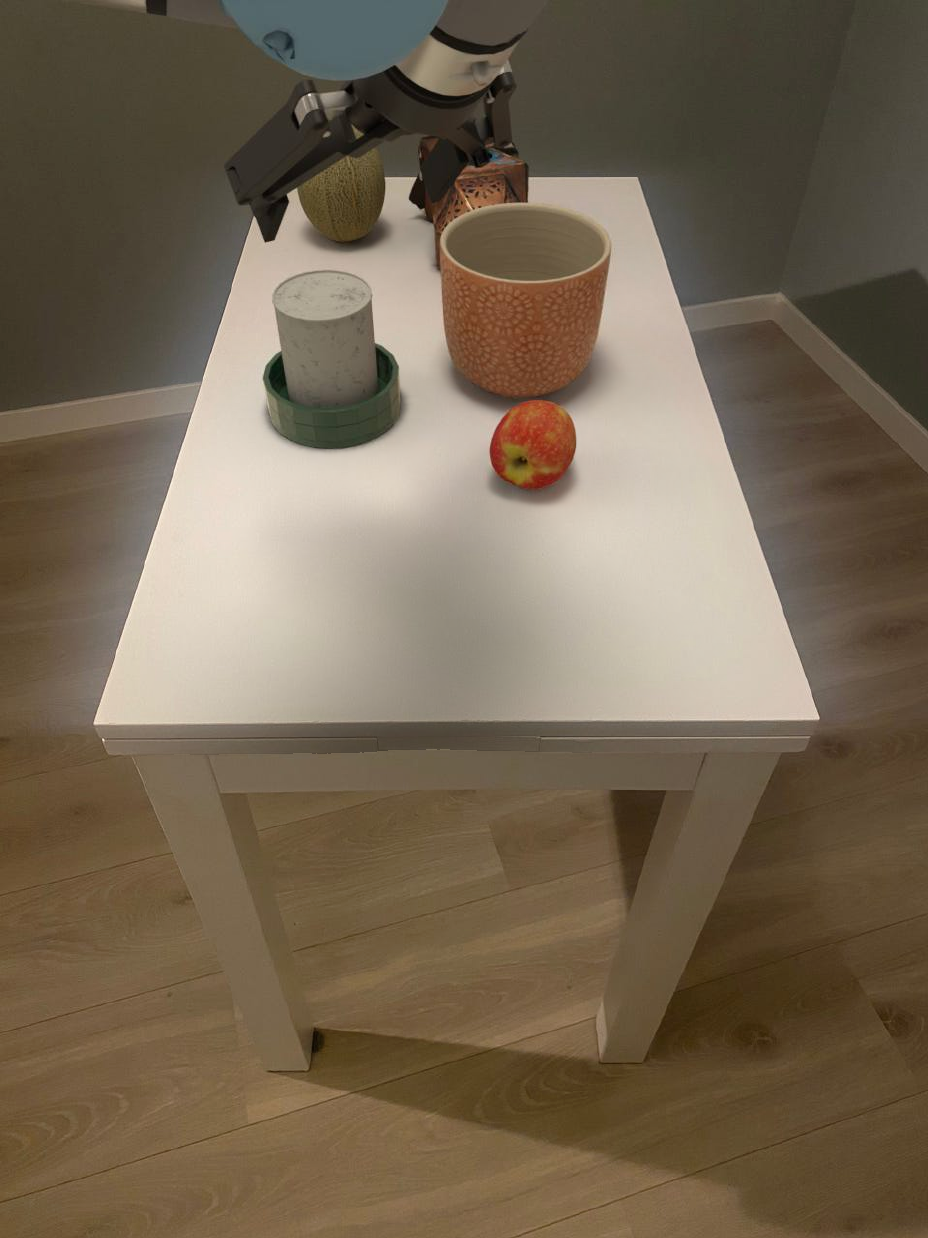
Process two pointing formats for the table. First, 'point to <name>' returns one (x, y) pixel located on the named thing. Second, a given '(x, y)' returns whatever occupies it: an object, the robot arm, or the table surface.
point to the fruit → (346, 196)
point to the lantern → (472, 186)
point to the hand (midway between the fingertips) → (348, 203)
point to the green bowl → (334, 409)
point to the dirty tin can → (327, 338)
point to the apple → (533, 444)
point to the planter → (523, 295)
